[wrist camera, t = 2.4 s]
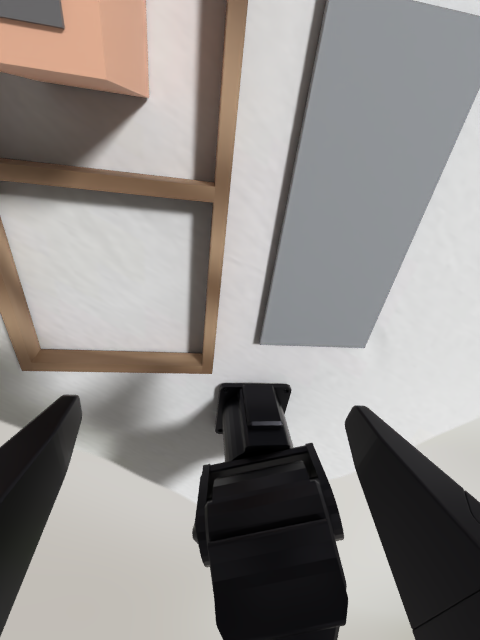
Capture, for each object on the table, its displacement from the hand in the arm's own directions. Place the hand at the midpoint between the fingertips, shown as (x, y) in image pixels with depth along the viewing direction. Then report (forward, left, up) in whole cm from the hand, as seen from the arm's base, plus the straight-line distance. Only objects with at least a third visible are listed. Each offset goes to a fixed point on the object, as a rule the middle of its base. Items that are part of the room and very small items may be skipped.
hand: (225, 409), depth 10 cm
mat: (+4, -9, -12) cm, 15 cm away
